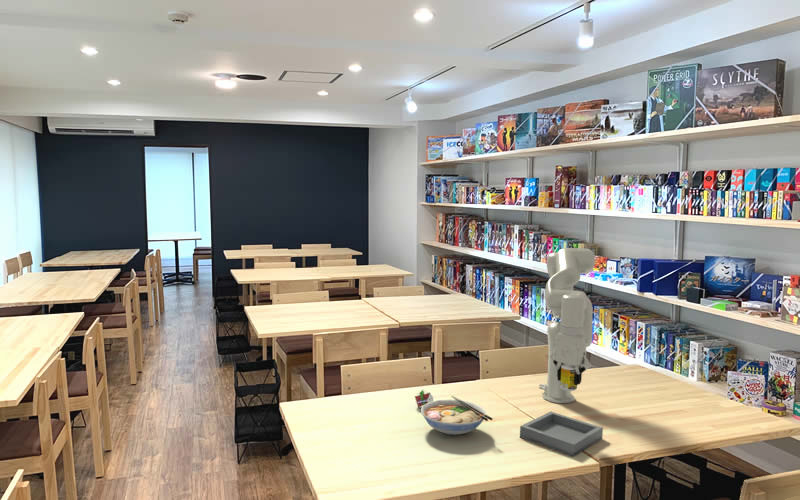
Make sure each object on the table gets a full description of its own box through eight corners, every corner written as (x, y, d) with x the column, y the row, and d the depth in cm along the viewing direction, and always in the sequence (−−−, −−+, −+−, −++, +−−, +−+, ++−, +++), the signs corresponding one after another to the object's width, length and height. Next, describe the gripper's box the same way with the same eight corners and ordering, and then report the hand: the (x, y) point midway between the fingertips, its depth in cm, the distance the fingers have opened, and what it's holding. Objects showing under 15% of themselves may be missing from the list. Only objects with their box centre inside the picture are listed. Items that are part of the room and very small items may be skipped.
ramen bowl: (408, 422, 210) (408, 400, 210) (463, 414, 220) (464, 393, 219) (439, 450, 188) (440, 426, 187) (500, 440, 197) (501, 416, 196)
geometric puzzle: (408, 403, 224) (420, 388, 222) (414, 397, 230) (426, 383, 228) (421, 416, 222) (434, 402, 220) (427, 410, 229) (439, 396, 226)
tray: (519, 437, 199) (520, 426, 199) (550, 422, 214) (550, 411, 213) (573, 456, 185) (573, 444, 185) (602, 438, 199) (602, 427, 199)
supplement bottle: (569, 392, 197) (570, 363, 196) (556, 387, 202) (558, 359, 200) (580, 389, 200) (581, 360, 199) (567, 385, 205) (569, 356, 203)
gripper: (543, 327, 202) (541, 378, 204) (589, 337, 190) (586, 391, 192) (554, 324, 207) (552, 373, 209) (600, 333, 195) (597, 385, 197)
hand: (568, 381), depth 201 cm, fingers closed on supplement bottle, 5 cm apart
